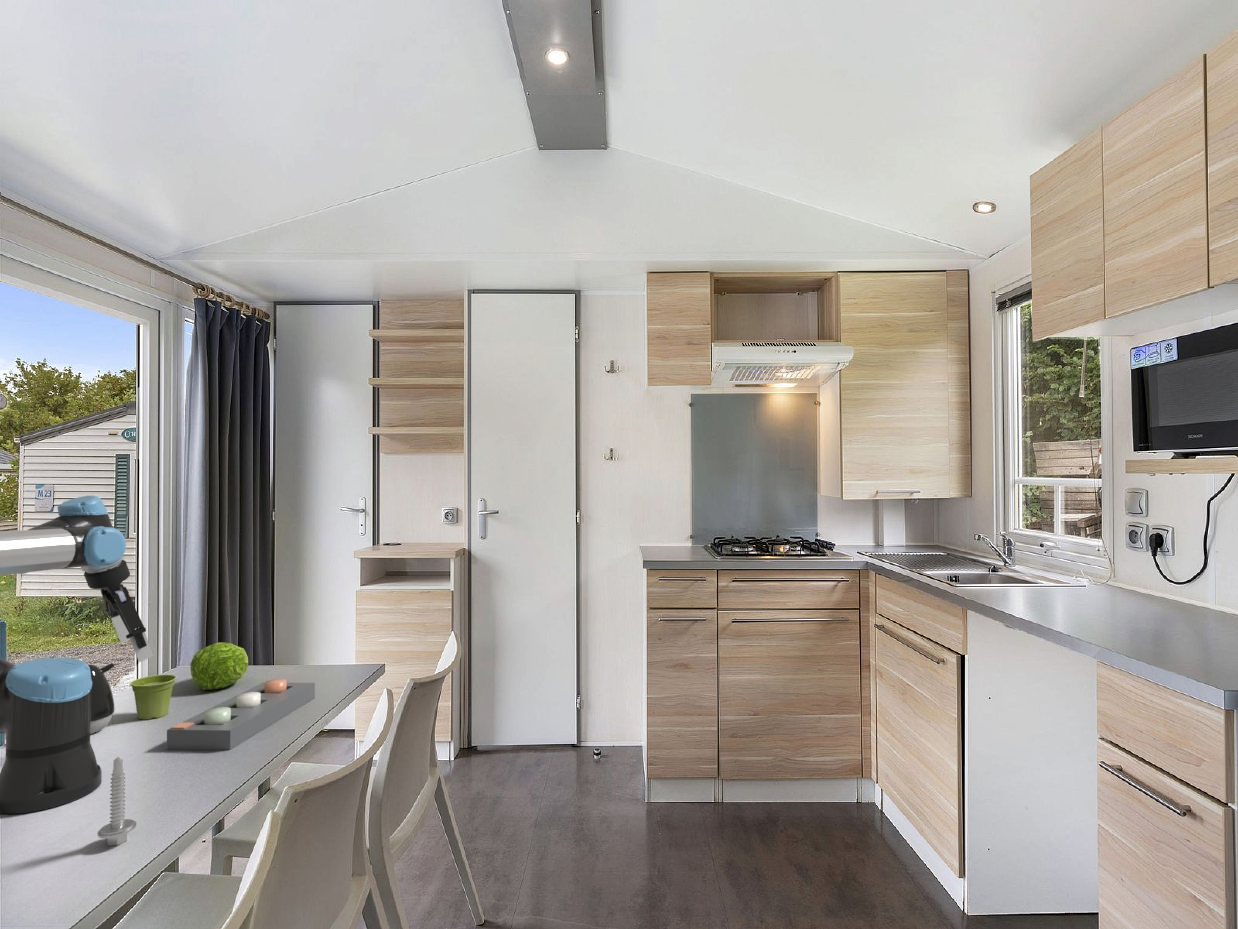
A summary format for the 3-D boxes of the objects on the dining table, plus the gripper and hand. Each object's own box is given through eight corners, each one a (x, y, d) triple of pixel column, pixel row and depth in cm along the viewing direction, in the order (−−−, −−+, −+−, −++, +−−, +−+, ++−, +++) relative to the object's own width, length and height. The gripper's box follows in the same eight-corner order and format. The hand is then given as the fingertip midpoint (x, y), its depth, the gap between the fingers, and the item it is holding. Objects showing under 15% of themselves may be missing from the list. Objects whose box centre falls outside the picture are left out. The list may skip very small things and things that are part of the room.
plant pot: (185, 709, 166) (186, 674, 166) (155, 723, 156) (156, 686, 157) (151, 709, 167) (151, 674, 167) (119, 722, 157) (119, 685, 157)
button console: (230, 749, 139) (230, 729, 139) (166, 749, 140) (166, 728, 140) (314, 698, 173) (314, 681, 173) (263, 698, 174) (263, 681, 174)
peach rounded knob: (279, 699, 165) (279, 684, 165) (260, 699, 165) (260, 684, 166) (290, 693, 170) (290, 678, 170) (271, 693, 170) (271, 678, 171)
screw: (109, 835, 105) (142, 832, 106) (89, 851, 100) (125, 848, 101) (110, 752, 106) (143, 750, 106) (91, 764, 101) (126, 762, 101)
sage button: (220, 732, 143) (221, 715, 143) (198, 732, 144) (198, 714, 144) (235, 724, 148) (235, 707, 148) (214, 723, 148) (214, 707, 149)
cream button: (252, 714, 154) (252, 698, 154) (231, 714, 154) (231, 698, 155) (265, 707, 159) (265, 692, 159) (245, 707, 159) (245, 692, 160)
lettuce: (265, 650, 202) (223, 629, 199) (251, 659, 181) (203, 635, 179) (238, 690, 198) (195, 668, 196) (220, 704, 178) (171, 680, 175)
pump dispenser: (123, 729, 152) (122, 662, 153) (66, 744, 144) (66, 673, 144) (105, 720, 158) (105, 656, 158) (50, 735, 149) (50, 667, 150)
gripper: (141, 571, 138) (173, 658, 145) (108, 546, 154) (139, 625, 161) (98, 587, 133) (134, 676, 140) (69, 559, 149) (102, 641, 156)
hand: (136, 649), depth 150 cm, fingers open, 13 cm apart
